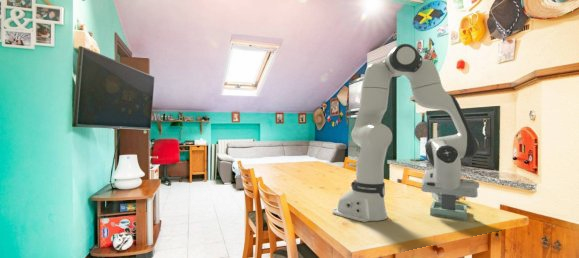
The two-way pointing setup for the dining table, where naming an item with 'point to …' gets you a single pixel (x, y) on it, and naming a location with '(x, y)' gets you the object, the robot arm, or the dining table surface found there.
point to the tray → (449, 211)
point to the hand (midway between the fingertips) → (448, 197)
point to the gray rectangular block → (448, 202)
